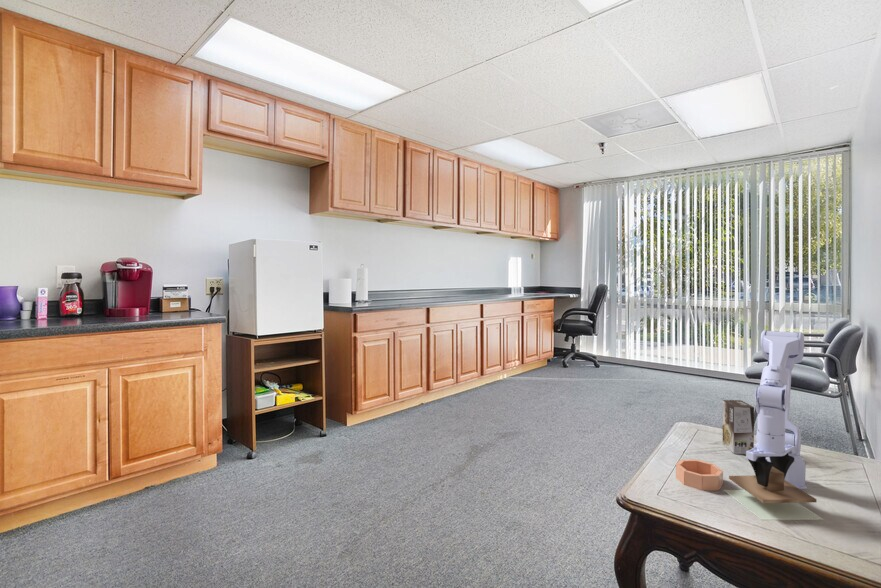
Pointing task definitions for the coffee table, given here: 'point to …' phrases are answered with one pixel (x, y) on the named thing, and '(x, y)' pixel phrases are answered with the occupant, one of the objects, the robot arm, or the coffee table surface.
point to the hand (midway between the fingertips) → (770, 483)
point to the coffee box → (738, 426)
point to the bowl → (699, 474)
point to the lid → (773, 489)
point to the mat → (772, 508)
